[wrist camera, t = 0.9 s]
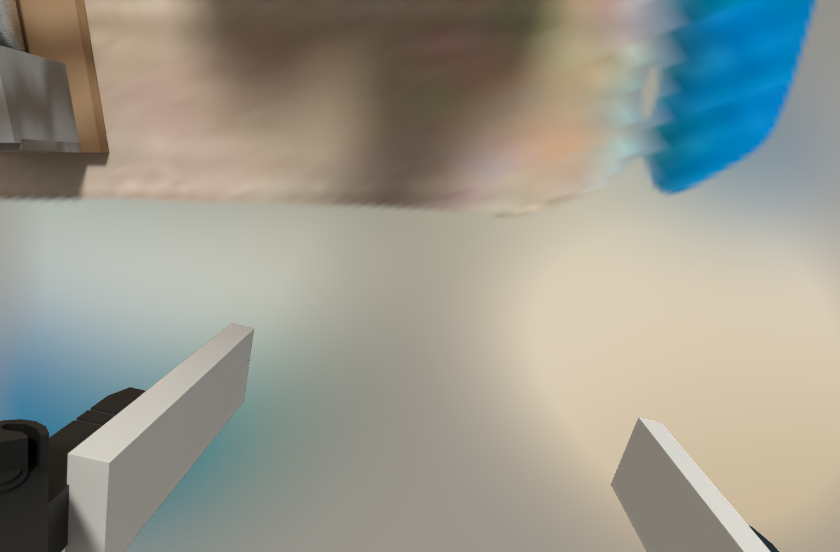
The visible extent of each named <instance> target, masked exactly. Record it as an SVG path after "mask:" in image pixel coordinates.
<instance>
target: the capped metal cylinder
mask: <svg viewBox="0 0 840 552" xmlns="http://www.w3.org/2000/svg"><path fill="white" fill-rule="evenodd" d="M0 45H1V46H5V47H8V48H12V49H15V50H19V51H22V52H25V48H24V43H23V38H22V33H21V28H20V23H19V18H18V13H17V8H16V2H15V0H0Z"/></svg>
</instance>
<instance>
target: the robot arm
mask: <svg viewBox="0 0 840 552" xmlns="http://www.w3.org/2000/svg"><path fill="white" fill-rule="evenodd" d="M253 333H254V328H250V327H245V326H241V325H237V324H232V323H231V324H230V325H229V326H227V327H226V328H225V329H223V330H222V331H221V332H220V333H218V334H217V335H216V336H215V337H213V338H212V339H211V340H210V341H208V342H207V343H206V344H205V345H203V346H202V347H201V348H200V349H198V350H197V351H196V352H195V353H193V354H192V355H191V356H190V357H188V358H187V359H186V360H185V361H183V362H182V363H181V364H180V365H178V366H177V367H176V368H175V369H173V370H172V371H171V372H170V373H168V374H167V375H166V376H165V377H163V378H162V379H161V380H160V381H158V382H157V383H156V384H155V385H153V386H152V387H151V388H150V389H148V390H147V391H144V390H140V389H135V388H131V387H130V388H127V389H124V390H122V391H119V392H117V393H114V394H111V395H109V396H107V397H106V398H104V399H103V400H101V401H100V402H99V403H97V404H96V405H94V406H93V407H92V408H91V409H90V411H86V412H85V413H84V414H82V415H80V416H79V417H78V418H77V420H76V421H72V422H71V423H70V424H68V425H67V426H65V427H64V428H62V429H61V430H60V431H58V432H57V433H56V434H54V435H53V436H51V437H50V438H49V433H48V430H47V428H46V427H45V426H44V425H42V424H40V423H38V422H36V421H29V420H22V419H20V420H4V421H0V552H61V551H62V550H63V549H64V548H65V552H124V551H125V550H126V548H127V547H128V546H129V545H130V543H131V542H132V541H133V539H134V538H135V537H136V536H137V534H138V533H139V532H140V531H141V529H142V528H143V527H144V526H145V524H146V523H147V522H148V521H149V519H150V518H151V517H152V516H153V514H154V513H155V512H156V511H157V509H158V508H159V507H160V506H161V504H162V503H163V502H164V501H165V499H166V498H167V497H168V496H169V494H170V493H171V492H172V491H173V489H174V488H175V487H176V486H177V484H178V483H179V482H180V481H181V479H182V478H183V477H184V476H185V474H186V473H187V472H188V471H189V469H190V468H191V467H192V465H193V464H194V463H195V462H196V461H197V459H198V458H199V457H200V455H201V454H202V453H203V452H204V450H205V449H206V448H207V447H208V445H209V444H210V443H211V442H212V440H213V439H214V438H215V437H216V435H217V434H218V433H219V432H220V430H221V429H222V428H223V427H224V425H225V424H226V423H227V422H228V420H229V419H230V418H231V417H232V415H233V414H234V413H235V412H236V410H237V409H238V408H239V407H240V405H241V404H242V403H243V401H244V396H245V389H246V382H247V375H248V368H249V361H250V354H251V347H252V339H253ZM611 486H612V487H613V489H614V491H615V493H616V495H617V497H618V499H619V501H620V502H621V504H622V506H623V508H624V510H625V512H626V514H627V515H628V517H629V519H630V521H631V523H632V525H633V527H634V529H635V531H636V532H637V534H638V536H639V538H640V540H641V542H642V544H643V545H644V547H645V549H646V551H647V552H779V551H778V550H777V549H776V548H775V547H774V545H773V544H772V543H770V542H769V541H768V540H767V539H766V538H764V537H763V536H762V535H761V534H760V533H758V532H757V531H756V530H755V529H754V528H752V527H751V526H748V525H747V523H746V522H745V521H744V520H743V519H742V517H741V516H740V515H739V514H738V513H737V512H736V510H735V509H734V508H733V507H732V506H731V504H730V503H729V502H728V501H727V500H726V499H725V498H724V496H723V495H722V494H721V493H720V492H719V490H718V489H717V488H716V487H715V486H714V484H713V483H712V482H711V481H710V480H709V479H708V478H707V476H706V475H705V474H704V473H703V472H702V470H701V469H700V468H699V467H698V466H697V465H696V464H695V462H694V461H693V460H692V459H691V458H690V456H689V455H688V454H687V453H686V452H685V450H684V449H683V448H682V447H681V446H680V445H679V443H678V442H677V441H676V440H675V439H674V437H673V436H672V435H671V434H670V433H669V432H668V430H667V429H666V428H665V427H664V426H663V425H662V423H661V422H657V421H653V420H649V419H644V418H640V417H639V418H638V420H637V422H636V425H635V427H634V430H633V432H632V435H631V437H630V439H629V442H628V444H627V447H626V449H625V452H624V454H623V457H622V459H621V461H620V464H619V466H618V469H617V471H616V473H615V476H614V478H613V481H612V483H611Z"/></svg>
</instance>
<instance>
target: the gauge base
mask: <svg viewBox="0 0 840 552" xmlns="http://www.w3.org/2000/svg"><path fill="white" fill-rule="evenodd" d="M15 2H16V8H17V13H18V18H19V23H20V28H21V33H22V38H23V43H24V48H25V52H22V51H19V50H15V49H12V48H8V47H5V46H1V45H0V153H109V150H108V144H107V138H106V132H105V126H104V120H103V114H102V108H101V102H100V95H99V89H98V83H97V77H96V71H95V65H94V59H93V53H92V47H91V41H90V35H89V29H88V23H87V17H86V10H85V4H84V0H15Z"/></svg>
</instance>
